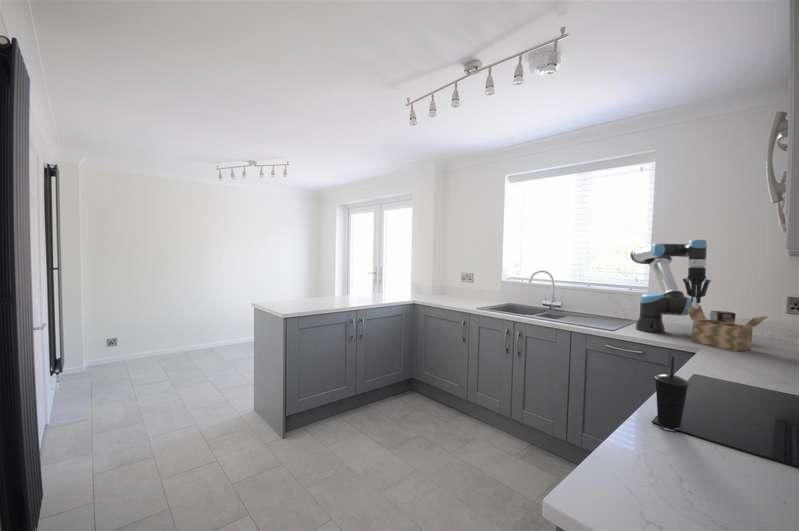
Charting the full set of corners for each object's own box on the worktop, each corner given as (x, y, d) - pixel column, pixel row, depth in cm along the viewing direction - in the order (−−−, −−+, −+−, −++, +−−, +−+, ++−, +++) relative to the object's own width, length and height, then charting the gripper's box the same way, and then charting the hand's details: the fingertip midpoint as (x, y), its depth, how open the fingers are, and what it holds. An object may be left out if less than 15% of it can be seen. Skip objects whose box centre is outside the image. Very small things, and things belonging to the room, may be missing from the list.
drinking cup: (645, 420, 103) (649, 352, 102) (673, 422, 102) (678, 353, 101) (662, 433, 95) (667, 360, 94) (693, 435, 94) (698, 362, 94)
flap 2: (753, 317, 173) (754, 318, 173) (767, 316, 178) (768, 316, 178) (740, 328, 178) (741, 328, 178) (753, 326, 183) (754, 327, 183)
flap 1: (700, 305, 205) (699, 305, 205) (686, 306, 199) (686, 306, 200) (705, 318, 202) (705, 319, 202) (692, 320, 197) (691, 320, 197)
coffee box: (716, 340, 202) (718, 312, 202) (708, 337, 209) (709, 310, 208) (734, 341, 201) (736, 313, 201) (724, 338, 208) (726, 311, 207)
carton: (691, 341, 197) (693, 320, 197) (705, 340, 202) (706, 319, 202) (737, 351, 179) (739, 328, 178) (751, 349, 184) (752, 326, 183)
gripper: (680, 266, 205) (678, 307, 206) (707, 267, 193) (705, 310, 194) (687, 266, 208) (686, 306, 209) (714, 267, 196) (713, 309, 197)
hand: (695, 308), depth 201 cm, fingers closed
